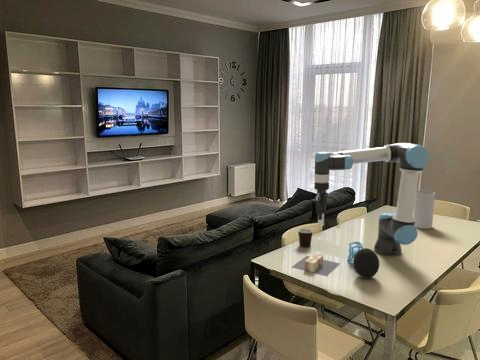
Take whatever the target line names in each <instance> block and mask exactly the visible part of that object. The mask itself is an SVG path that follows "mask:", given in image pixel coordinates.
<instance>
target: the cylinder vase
mask: <svg viewBox="0 0 480 360" xmlns="http://www.w3.org/2000/svg"><path fill="white" fill-rule="evenodd" d="M435 199H436V192H435V191H433V190H426V189H423V190H422V189H418V190H416V197H415V204H414V211H413V218H414V220H415V225H414V227H415V228H416V229H420V230H430V229H432V228H433V224H434V223H433V220H434V212H435V211H434V210H435Z"/></svg>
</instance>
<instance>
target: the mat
mask: <svg viewBox="0 0 480 360" xmlns="http://www.w3.org/2000/svg"><path fill="white" fill-rule="evenodd" d="M310 257H311V256H310V255H306V256H305V257H303V258H302V259H301V260H299V261H298V262H296V263H295V264H294V265H292V266H291V268H292V269H297V270H301V271H304V272H308V273H312V274H317V275H320V276H325V277H328V276H329V275H330V274H331V273H332V272H334V271H335V270H336V268H338V267H339V266H340V265H341V263H339V262H335V261H331V260H327V259H323V265H322V266H320V267H319V268H318V269H317V270H316V271H314V272H310V271H306V270H305V261H306V260H307V259H308V258H310Z"/></svg>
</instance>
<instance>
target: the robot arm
mask: <svg viewBox="0 0 480 360" xmlns="http://www.w3.org/2000/svg"><path fill="white" fill-rule="evenodd" d="M429 160H430V154H429V151H428V149H427V148H426V147H425V146H423V145H420V144H417V143H410V142H398V143H396V142H395V143H391V144H385V145H383V147H382V146H380V147H379V146H378V147H372V148H371V147H370V148H362V149H352V150H351V149H350V150H343V151H318V152H316V153H315V154H314V174H313V177H314V183H313V184H314V187H313V188H314V190H315V191H316V196H314V200H315V201H314V202H315V213H316V214H317V226H322V227H324V225H325V214H326V213H327V203H328V196H329V192H327V191H328V190H330V171H340V170H346V171H348V170H352V169H353V166H354V165H355V164H362V163H372V162H373V163H374V162H381V161H383V162H386V163H391V162H392V163H398V165H399V167H398V169H399V170H400V172H401V173H400V182H399V188H398V195H397V196H398V197H397V203H396V209H395V210H396V211H395V212H382V213H380V214H379V217H378V227H377V229H378V231H377V238H376V241H375V244H374V247H373V251H374V252H375V253H376V254H378V255H383V256H391V257H395V256H399V255H401V254H402V246H401V245H403V246H408V245H410V244H412V243H414V242H415V241H416V240H417V238H418V234H419V233H418V229H417V228H416V227H414V225H415V220H414V218H413V213H414V204H415V197H416V191H417V189H418V182H419V176H420V173H422V172H423V170H424V167H426V165H427V164H428V163H429Z"/></svg>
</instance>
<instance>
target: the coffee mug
mask: <svg viewBox="0 0 480 360" xmlns="http://www.w3.org/2000/svg"><path fill="white" fill-rule="evenodd" d="M297 231H298V241H299V247H302V248H310V247H311V243H312V238H313V230H312V229H310V228H300V229H299V228H298V230H297Z"/></svg>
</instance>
